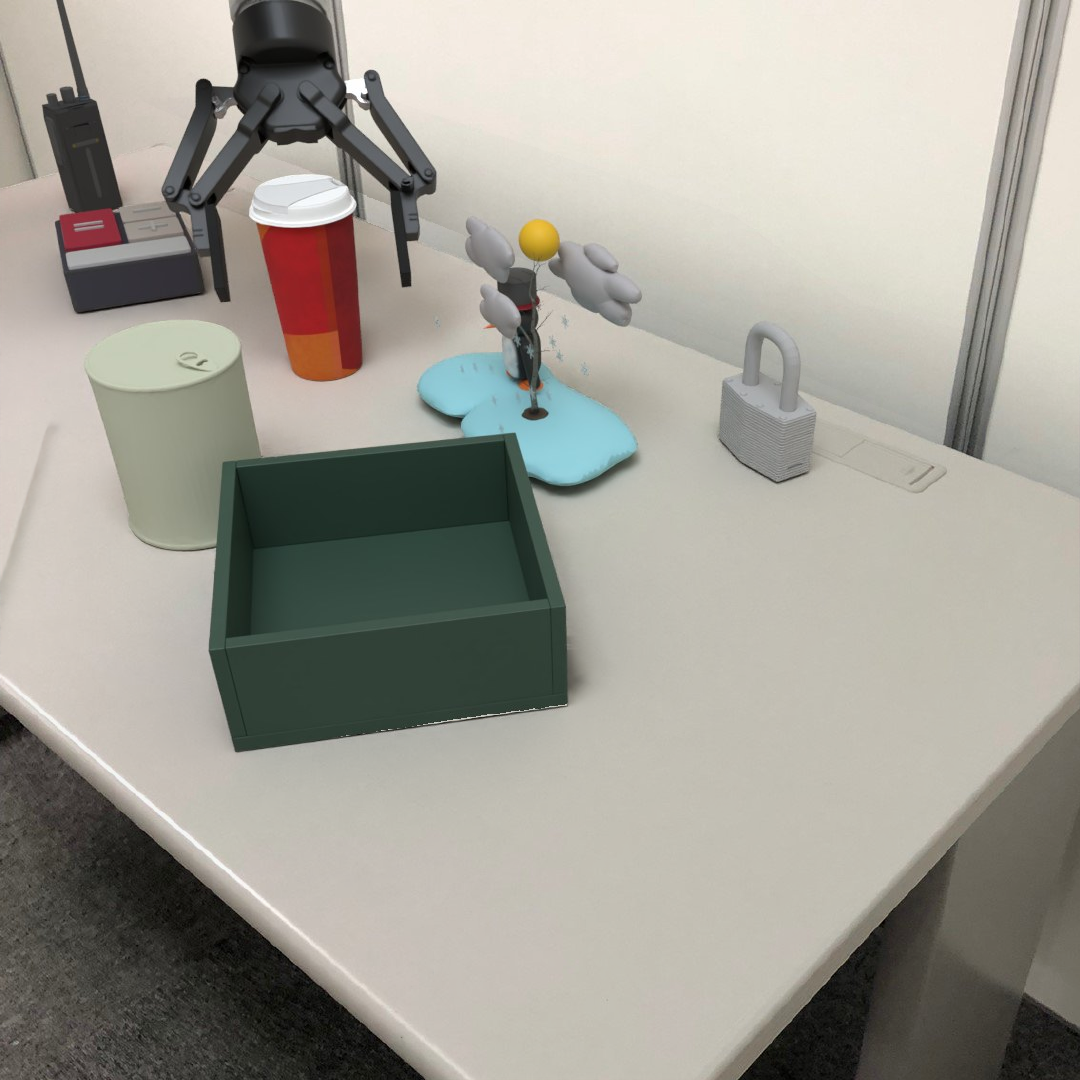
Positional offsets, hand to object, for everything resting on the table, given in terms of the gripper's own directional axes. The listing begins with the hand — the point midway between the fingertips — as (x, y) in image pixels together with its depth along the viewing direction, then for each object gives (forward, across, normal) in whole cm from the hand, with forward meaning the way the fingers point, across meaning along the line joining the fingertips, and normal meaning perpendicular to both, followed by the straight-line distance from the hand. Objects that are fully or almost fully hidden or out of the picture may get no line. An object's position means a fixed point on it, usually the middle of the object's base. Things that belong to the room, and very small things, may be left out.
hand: (315, 288), depth 91 cm
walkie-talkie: (-24, +22, -34) cm, 46 cm away
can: (+18, +9, +8) cm, 21 cm away
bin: (+28, -3, +18) cm, 34 cm away
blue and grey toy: (+14, -14, +3) cm, 20 cm away
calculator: (-11, +17, -21) cm, 29 cm away
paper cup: (+4, 0, -6) cm, 7 cm away
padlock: (+18, -30, +8) cm, 36 cm away
